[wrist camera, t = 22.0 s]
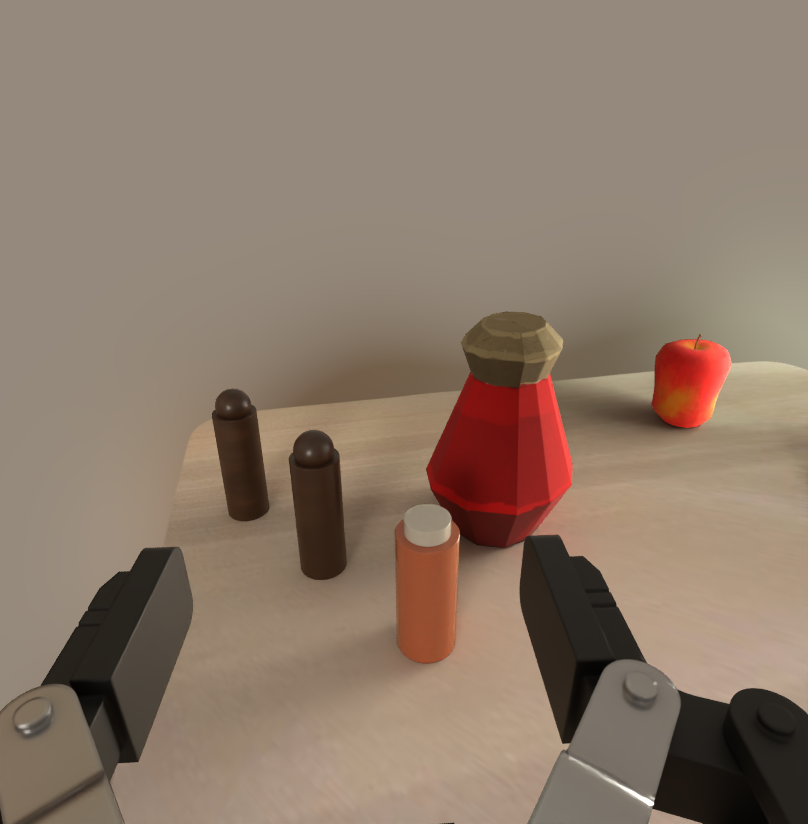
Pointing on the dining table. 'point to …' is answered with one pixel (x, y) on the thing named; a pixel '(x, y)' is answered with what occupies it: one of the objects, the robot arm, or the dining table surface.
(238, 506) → the post
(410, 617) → the shaker
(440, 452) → the bottle
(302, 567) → the post
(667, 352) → the apple
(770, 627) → the dining table surface
